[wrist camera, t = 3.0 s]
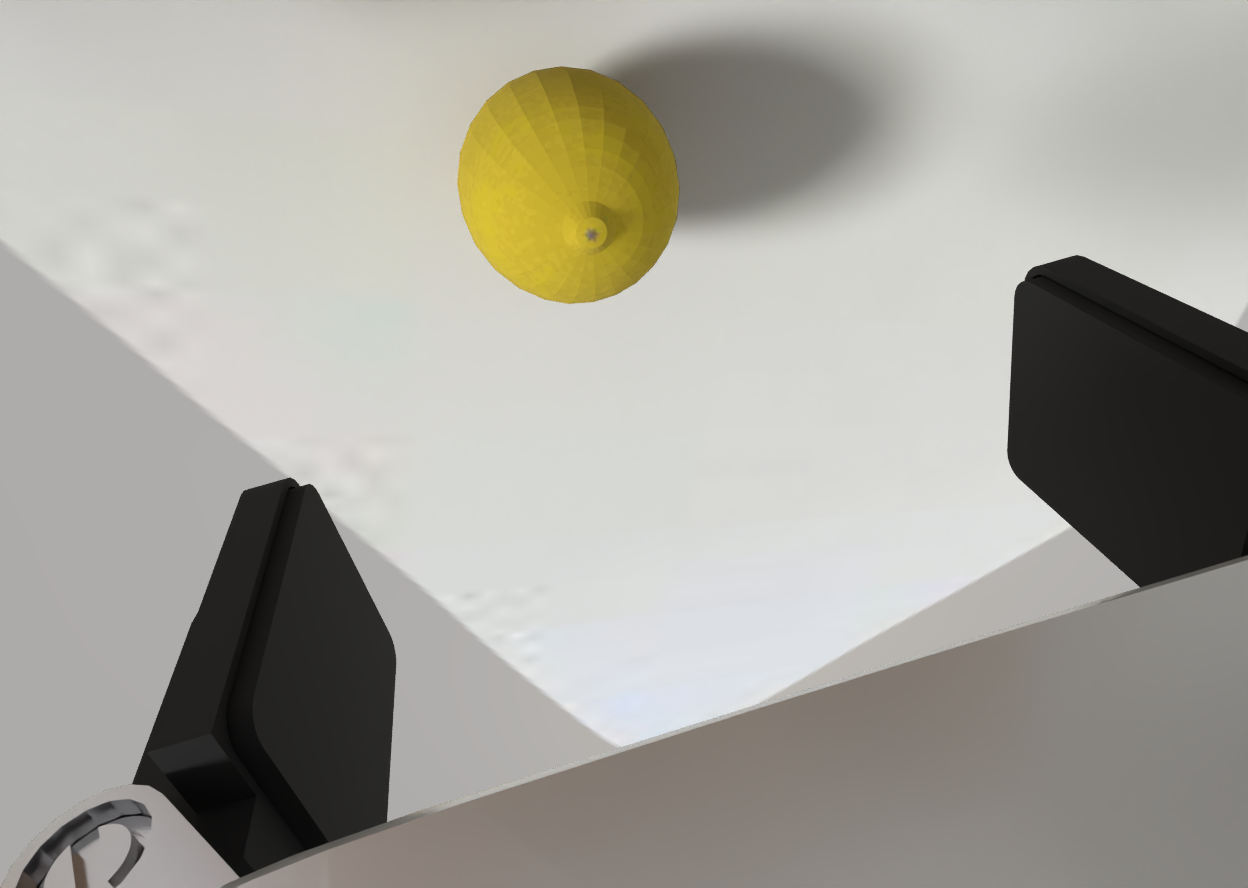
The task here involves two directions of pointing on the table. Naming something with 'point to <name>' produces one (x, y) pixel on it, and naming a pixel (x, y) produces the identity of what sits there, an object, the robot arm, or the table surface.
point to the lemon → (568, 185)
